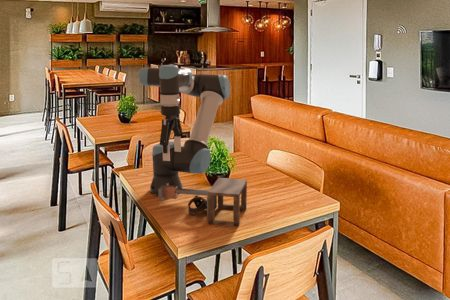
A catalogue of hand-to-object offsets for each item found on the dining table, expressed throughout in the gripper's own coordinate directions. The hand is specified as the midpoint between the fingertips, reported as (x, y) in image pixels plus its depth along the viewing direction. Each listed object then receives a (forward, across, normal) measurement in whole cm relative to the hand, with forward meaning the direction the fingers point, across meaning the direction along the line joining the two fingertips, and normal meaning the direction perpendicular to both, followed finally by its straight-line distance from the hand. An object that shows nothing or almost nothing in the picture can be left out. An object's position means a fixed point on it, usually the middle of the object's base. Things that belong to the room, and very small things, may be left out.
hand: (172, 155), depth 173 cm
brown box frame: (+22, -3, -7) cm, 23 cm away
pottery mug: (+24, -2, -12) cm, 26 cm away
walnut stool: (+23, -3, -24) cm, 34 cm away
